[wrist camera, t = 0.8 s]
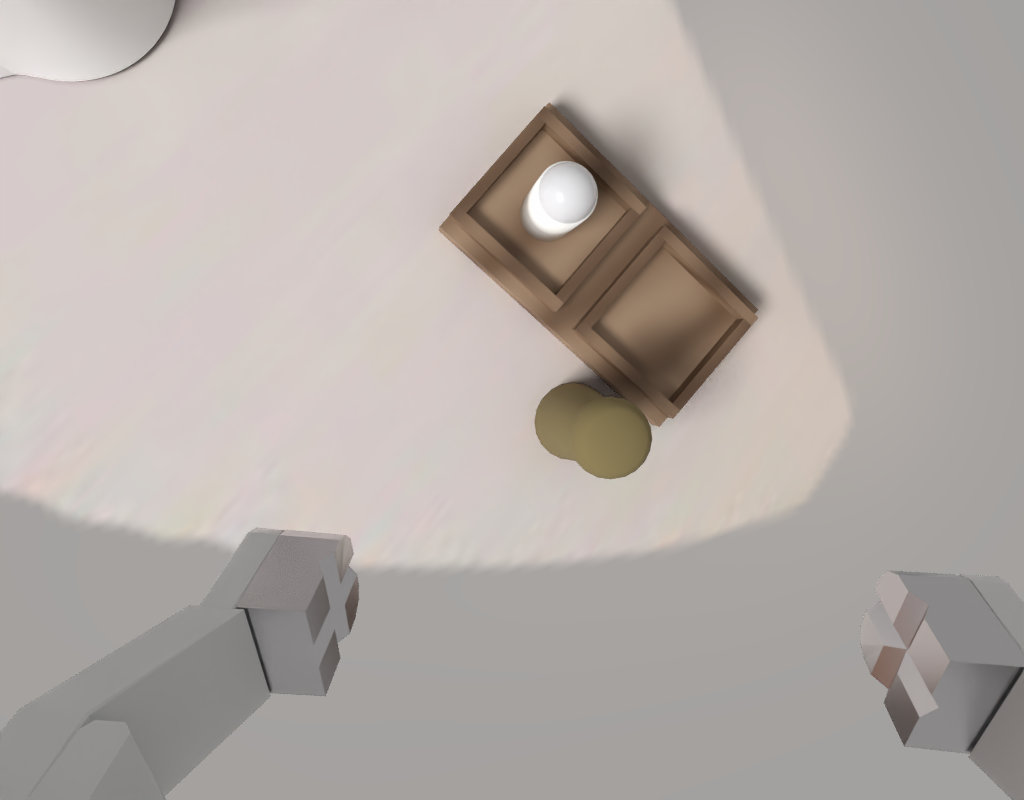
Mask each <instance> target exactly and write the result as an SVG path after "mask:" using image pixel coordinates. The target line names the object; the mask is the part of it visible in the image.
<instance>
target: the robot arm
mask: <svg viewBox="0 0 1024 800" xmlns="http://www.w3.org/2000/svg"><path fill="white" fill-rule="evenodd" d="M174 4H175V0H0V78H1V77H6V76H10V75H27V76H33V77H38V78H44V79H49V80H56V81H87V80H93V79H98V78H102V77H105V76H109V75H112V74H114V73H117V72H119V71H121V70H123V69H125V68H127V67H129V66H130V65H132V64H133V63H135V62H136V61H138V60H139V59H140V58H142V57H143V56H144V55H145V54H146V53H147V52H148V51H149V50H150V49H151V48H152V47H153V46H154V45H155V43H156V42H157V41H158V39H159V38H160V37H161V35H162V34H163V32H164V30H165V28H166V26H167V24H168V22H169V20H170V17H171V15H172V12H173V8H174ZM353 554H354V553H353V548H352V544H351V539H350V538H349V537H348V536H346V535H338V534H327V533H316V532H305V531H294V530H286V531H285V530H275V529H264V528H255V529H254V530H252V531H250V532H249V533H248V534H247V535H246V536H245V538H244V539H243V541H242V542H241V544H240V545H239V547H238V548H237V550H236V551H235V553H234V554H233V556H232V557H231V559H230V560H229V562H228V563H227V565H226V566H225V568H224V569H223V571H222V572H221V574H220V575H219V577H218V578H217V580H216V581H215V583H214V584H213V586H212V587H211V589H210V590H209V591H208V593H207V595H206V596H205V598H204V599H203V601H202V602H201V603H200V605H199V606H193V605H189V606H188V607H186V608H184V609H183V610H181V611H179V612H178V613H176V614H175V615H173V616H171V617H169V618H168V619H166V620H165V621H163V622H161V623H160V624H158V625H156V626H155V627H153V628H152V629H150V630H149V631H147V632H145V633H143V634H142V635H140V636H138V637H137V638H135V639H133V640H132V641H130V642H129V643H127V644H125V645H124V646H122V647H120V648H119V649H117V650H115V651H114V652H112V653H111V654H109V655H107V656H106V657H104V658H102V659H101V660H99V661H97V662H96V663H94V664H93V665H91V666H89V667H88V668H86V669H85V670H83V671H81V672H79V673H78V674H76V675H75V676H73V677H71V678H70V679H68V680H66V681H65V682H63V683H62V684H60V685H58V686H57V687H55V688H53V689H52V690H50V691H48V692H47V693H45V694H43V695H42V696H40V697H39V698H37V699H35V700H34V701H32V702H30V703H29V704H27V705H25V706H24V707H22V708H21V709H19V711H18V712H17V713H16V714H15V715H14V716H13V718H12V719H11V720H10V721H9V722H8V724H7V725H6V726H5V727H4V728H3V729H2V731H1V732H0V800H166V799H165V797H164V796H165V795H166V794H168V793H169V792H170V791H171V790H172V789H173V788H174V787H175V786H176V785H177V784H178V783H179V782H180V781H181V780H182V779H183V778H185V777H186V775H188V774H189V773H190V772H191V771H192V770H193V769H194V768H195V767H196V766H197V765H198V764H199V763H200V762H201V761H203V759H205V758H206V757H207V756H208V755H209V754H210V753H211V752H212V751H213V750H214V749H215V748H216V747H217V746H218V745H220V744H221V743H222V742H223V741H224V740H225V739H226V738H227V737H228V736H229V735H230V734H231V733H232V732H233V731H234V730H235V729H237V728H238V727H239V726H240V725H241V724H242V723H243V722H244V721H245V720H246V719H247V718H248V717H249V716H250V715H251V714H252V713H254V712H255V711H256V710H257V709H258V708H259V707H260V706H261V705H262V704H263V703H264V702H265V701H266V700H267V699H268V698H269V697H270V693H278V694H296V695H314V696H326V694H327V691H328V689H329V686H330V683H331V681H332V678H333V676H334V673H335V670H336V668H337V665H338V663H339V660H340V653H339V648H338V642H340V641H341V640H342V639H344V638H345V637H346V636H347V635H349V634H350V632H351V629H352V626H353V623H354V620H355V617H356V612H357V607H358V601H359V583H358V577H357V573H355V572H354V571H353V570H352V569H351V568H350V567H349V563H350V561H351V559H352V556H353ZM875 590H876V592H877V594H878V596H879V598H880V600H881V601H879V602H878V603H876V604H875V605H873V606H872V607H870V608H869V609H867V610H866V612H865V615H864V618H863V621H862V624H861V626H860V627H861V628H860V631H861V632H860V635H861V636H860V638H861V640H860V642H861V648H862V653H863V657H864V660H865V662H866V664H867V667H868V669H869V671H870V674H871V675H872V676H873V677H874V678H876V679H877V680H878V681H879V682H880V683H882V684H883V685H884V686H885V687H886V688H887V689H888V692H887V694H886V697H885V700H884V704H885V707H886V709H887V711H888V713H889V715H890V717H891V719H892V722H893V724H894V726H895V728H896V730H897V732H898V734H899V736H900V739H901V741H902V743H903V745H904V746H905V747H913V748H922V749H930V750H939V751H948V752H957V753H966V754H970V755H969V758H970V759H971V760H972V761H973V762H974V763H975V764H976V765H977V766H978V767H979V768H980V769H981V770H982V771H983V772H984V773H985V774H986V775H987V776H988V777H989V778H990V779H991V780H992V781H993V782H994V783H996V785H998V787H1000V788H1001V789H1002V790H1003V791H1004V792H1005V793H1006V794H1007V795H1008V796H1009V797H1010V798H1011V799H1012V800H1024V603H1023V601H1022V600H1021V599H1020V598H1019V597H1018V595H1017V594H1016V593H1015V591H1014V590H1013V589H1012V588H1011V586H1010V585H1009V584H1008V583H1007V582H1005V581H1004V580H1002V579H1001V578H999V577H997V576H979V575H954V574H937V573H920V572H903V571H886V572H885V573H884V574H883V575H882V576H881V577H880V578H879V581H878V583H877V585H876V588H875Z"/></svg>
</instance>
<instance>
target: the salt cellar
mask: <svg viewBox="0 0 1024 800" xmlns="http://www.w3.org/2000/svg"><path fill="white" fill-rule="evenodd" d="M597 199H598V190H597V185H596V182H595V180H594V178H593V176H592V175H591V173H590V172H589V171H588V170H587V169H586V168H585V167H583V166H582V165H580V164H578V163H575V162H571V161H561V162H557V163H555V164H553V165H551V166H549V167H548V168H547V169H546V170H545V171H544V172H543V173H542V175H541V176H540V177H539V179H538V180H537V181H536V183H535V184H534V186H533V187H532V188H531V190H530V191H529V192H528V194H527V195H526V196H525V198H524V200H523V202H522V204H521V209H520V217H521V222H522V224H523V227H524V228H525V230H526V231H527V232H528V233H529V234H530V235H531V236H532V237H533V238H535V239H537V240H540V241H544V242H551V241H556V240H558V239H560V238H562V237H563V236H565V235H566V234H567V233H569V232H570V231H571V230H573V229H574V228H575V227H577V226H578V225H579V224H580V223H582V222H583V221H584V220H586V219H587V218H588V217H589V216H590V215H591V214H592V212H593V211H594V209H595V206H596V203H597Z"/></svg>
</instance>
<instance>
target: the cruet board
mask: <svg viewBox="0 0 1024 800" xmlns="http://www.w3.org/2000/svg"><path fill="white" fill-rule="evenodd" d="M561 161H571V162H575V163H578V164H580V165H582V166H583V167H585V168H586V169H587V170H588V171H589V172H590V173H591V175H592V176H593V178H594V180H595V182H596V185H597V190H598V199H597V203H596V206H595V209H594V211H593V212H592V214H591V215H590V216H589V217H588V218H587V219H586V220H584V221H583V222H582V223H580V224H579V225H578V226H577V227H575V228H574V229H573V230H571V231H570V232H569V233H567V234H566V235H565V236H563V237H562V238H560V239H558V240H556V241H551V242H544V241H540V240H537V239H535V238H533V237H532V236H531V235H530V234H529V233H528V232H527V231H526V230H525V228H524V227H523V224H522V222H521V217H520V209H521V204H522V202H523V200H524V198H525V196H526V195H527V194H528V192H529V191H530V190H531V188H532V187H533V186H534V184H535V183H536V181H537V180H538V179H539V177H540V176H541V175H542V173H543V172H544V171H545V170H546V169H547V168H548V167H549V166H551V165H553V164H555V163H557V162H561ZM439 231H440V232H441V233H442V234H443V235H444V236H445V237H446V238H448V239H449V240H450V241H451V242H452V243H453V244H454V245H455V246H456V247H457V248H459V249H460V250H461V251H462V252H463V253H464V254H465V255H466V256H467V257H468V258H470V259H471V260H472V261H473V262H474V263H475V264H476V265H477V266H478V267H479V268H481V269H482V270H483V271H484V272H485V273H486V274H487V275H488V276H489V277H490V278H492V279H493V280H494V281H495V282H496V283H497V284H498V285H499V286H500V287H501V288H503V289H504V290H505V291H506V292H507V293H508V294H509V295H510V296H511V297H512V298H514V299H515V300H516V301H517V302H518V303H519V304H520V305H521V306H522V307H523V308H525V309H526V310H527V311H528V312H529V313H530V314H531V315H532V316H533V317H534V318H535V319H537V320H538V321H539V322H540V323H541V324H542V325H543V326H544V327H545V328H546V329H548V330H549V331H550V332H551V333H552V334H553V335H554V336H555V337H556V338H557V339H559V340H560V341H561V342H562V343H563V344H564V345H565V346H566V347H567V348H568V349H570V350H571V351H572V352H573V353H574V354H575V355H576V356H577V357H578V358H579V359H581V360H582V361H583V362H584V363H585V364H586V365H587V366H588V367H589V368H590V369H592V370H593V371H594V372H595V373H596V374H597V375H598V376H599V377H600V378H601V379H603V380H604V381H605V382H606V383H607V384H608V385H609V386H610V387H611V388H612V389H614V390H615V391H616V392H617V393H618V394H619V395H620V396H621V397H622V398H623V399H626V400H627V401H629V402H631V403H633V404H635V405H636V406H637V407H638V408H639V409H640V410H641V411H642V412H643V413H644V415H645V416H646V418H647V420H648V421H649V422H650V423H651V424H652V425H655V426H659V427H660V425H661V424H662V423H663V422H664V421H665V419H666V418H667V417H669V418H674V417H675V416H676V415H677V413H678V412H679V411H680V410H681V409H682V408H683V406H684V405H685V404H686V403H687V402H688V400H689V399H690V398H691V397H692V396H693V394H694V393H695V392H696V391H697V390H698V388H699V387H700V386H701V385H702V384H703V383H704V381H705V380H706V379H707V378H708V377H709V375H710V374H711V373H712V372H713V371H714V369H715V368H716V367H717V366H718V365H719V364H720V362H721V361H722V360H723V359H724V358H725V356H726V355H727V354H728V353H729V352H730V350H731V349H732V348H733V347H734V346H735V345H736V343H737V342H738V341H739V340H740V339H741V337H742V336H743V335H744V334H745V333H746V331H747V330H748V329H749V328H750V327H751V325H752V324H753V323H754V322H755V321H756V320H757V318H758V317H757V316H756V315H755V313H756V311H757V310H758V309H757V308H756V307H755V306H754V305H753V304H752V303H751V302H750V301H749V300H748V299H747V298H746V297H744V296H743V295H742V294H741V293H740V292H739V291H738V290H737V289H736V288H735V287H734V286H733V285H732V284H731V283H730V282H729V281H728V280H727V279H726V278H725V277H724V276H723V275H722V274H721V273H720V272H719V271H718V270H717V269H716V268H715V267H714V266H713V265H712V264H711V263H710V262H709V261H708V260H707V259H706V258H705V257H704V256H703V255H702V254H701V253H700V252H699V251H698V250H697V249H696V248H695V247H694V246H693V245H692V244H691V243H690V242H689V241H688V240H687V239H686V238H685V237H684V236H683V235H682V234H681V233H680V232H679V231H678V230H677V229H676V228H675V227H674V226H673V225H672V224H671V223H670V222H669V221H668V220H667V219H666V218H665V217H664V216H663V215H662V214H661V213H660V212H659V211H658V210H657V209H656V208H655V207H654V206H653V205H652V204H651V203H650V202H649V201H648V200H647V199H646V198H645V197H644V196H643V195H642V194H641V193H640V192H639V191H638V190H637V189H636V188H635V187H634V186H633V185H632V184H631V183H630V182H629V181H628V180H627V179H626V178H625V177H624V176H623V175H622V174H621V173H620V172H619V171H618V170H617V169H616V168H615V167H614V166H613V165H612V164H611V163H610V162H609V161H608V160H607V159H606V158H605V157H604V156H603V155H602V154H601V153H600V152H599V151H598V150H597V149H596V148H595V147H594V146H593V145H592V144H591V143H590V142H589V141H588V140H587V139H586V138H585V137H584V136H583V135H582V134H581V133H580V132H579V131H578V130H577V129H576V128H575V127H574V126H573V125H572V124H571V123H570V122H569V121H568V120H567V119H566V118H565V117H564V116H562V115H561V114H560V113H559V112H558V111H557V110H556V109H555V108H554V107H553V106H552V105H551V104H550V103H548V104H547V105H546V107H545V106H544V107H543V109H542V110H541V111H540V112H539V113H538V114H537V115H536V117H535V118H534V119H533V120H532V121H531V122H530V123H529V124H528V126H527V127H526V128H525V129H524V130H523V131H522V132H521V134H520V135H519V136H518V137H517V138H516V139H515V140H514V142H513V143H512V144H511V145H510V146H509V147H508V148H507V149H506V151H505V152H504V153H503V154H502V155H501V156H500V157H499V159H498V160H497V161H496V162H495V163H494V164H493V165H492V167H491V168H490V169H489V170H488V171H487V172H486V173H485V174H484V176H483V177H482V178H481V179H480V180H479V181H478V182H477V184H476V185H475V186H474V187H473V188H472V189H471V190H470V192H469V193H468V194H467V195H466V196H465V197H464V198H463V199H462V201H461V202H460V203H459V204H458V205H457V206H456V207H455V209H454V210H453V211H452V212H451V213H450V216H449V217H448V218H447V219H446V220H445V221H444V222H443V224H442V225H441V226H440V228H439Z"/></svg>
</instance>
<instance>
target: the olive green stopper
mask: <svg viewBox="0 0 1024 800" xmlns="http://www.w3.org/2000/svg"><path fill="white" fill-rule="evenodd" d="M535 428H536V434H537V436H538V438H539V440H540V442H541V444H542V445H543V446H544V447H545V448H546V449H547V450H548V451H549V452H550V453H551V454H553V455H555V456H557V457H559V458H562V459H568V460H574V461H576V462H577V463H578V464H579V465H580V466H581V467H582V468H583V469H584V470H585V471H587V472H588V473H590V474H592V475H594V476H596V477H599V478H606V479H615V478H620V477H625V476H627V475H629V474H631V473H633V472H634V471H636V470H637V469H638V468H639V467H640V466H641V465H642V464H643V463H644V461H645V460H646V458H647V456H648V454H649V452H650V447H651V442H652V435H651V427H650V425H649V423H648V420H647V418H646V416H645V415H644V413H643V412H642V411H641V410H640V409H639V408H638V407H637V406H636V405H635V404H633V403H631V402H629V401H627V400H626V399H622V398H616V397H610V396H609V397H604V396H602V395H601V394H600V393H599V392H597V391H596V390H594V389H592V388H591V387H589V386H587V385H584V384H578V383H568V384H562V385H560V386H558V387H556V388H554V389H552V390H551V391H550V392H549V393H548V394H547V395H546V396H545V397H544V398H543V399H542V400H541V402H540V404H539V406H538V408H537V411H536V417H535Z"/></svg>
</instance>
